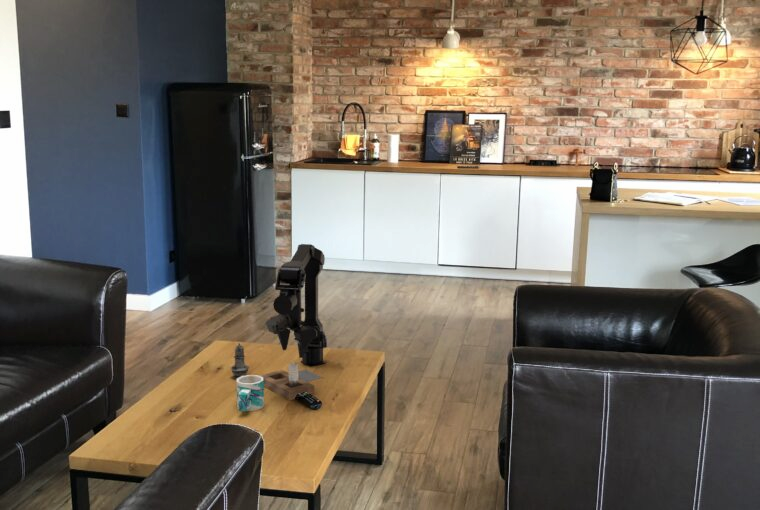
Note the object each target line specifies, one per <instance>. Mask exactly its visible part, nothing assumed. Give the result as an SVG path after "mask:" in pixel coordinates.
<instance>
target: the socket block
mask: <svg viewBox="0 0 760 510" xmlns="http://www.w3.org/2000/svg"><path fill="white" fill-rule="evenodd" d="M258 376H261V377H263V380H264V389H265V388H266V389H267V390H270V391H271V392H273V393H275V394H276V395H278V396H281V397H283V398H284V399H286V400H288V401H292V400H296V399H295V397H296V395H297V394H298V393H301V392H308V393H310V394H311V395H314V394H315V385H314V384H313V383H310V382H309V381H308V382H306V381H304V380H302V379H300V378H298V387H294V388H290V387H289V371H285V370H284V369H280V370H276V371H272V372H268V373H264V374H260V375H258Z"/></svg>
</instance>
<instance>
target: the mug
mask: <svg viewBox="0 0 760 510" xmlns="http://www.w3.org/2000/svg"><path fill="white" fill-rule="evenodd" d="M264 389H265V387H264V380H263V377H261V376H259V375H257V374H247V375H246V374H245V376H241V377H239V378H237V380H236V400H237V401H236V404H237V405H236V407H237V409H238V411H241V412H248V411H251V412H252V411H257V410H261V409H263V407H265V394H264V393H265V391H264Z"/></svg>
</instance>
